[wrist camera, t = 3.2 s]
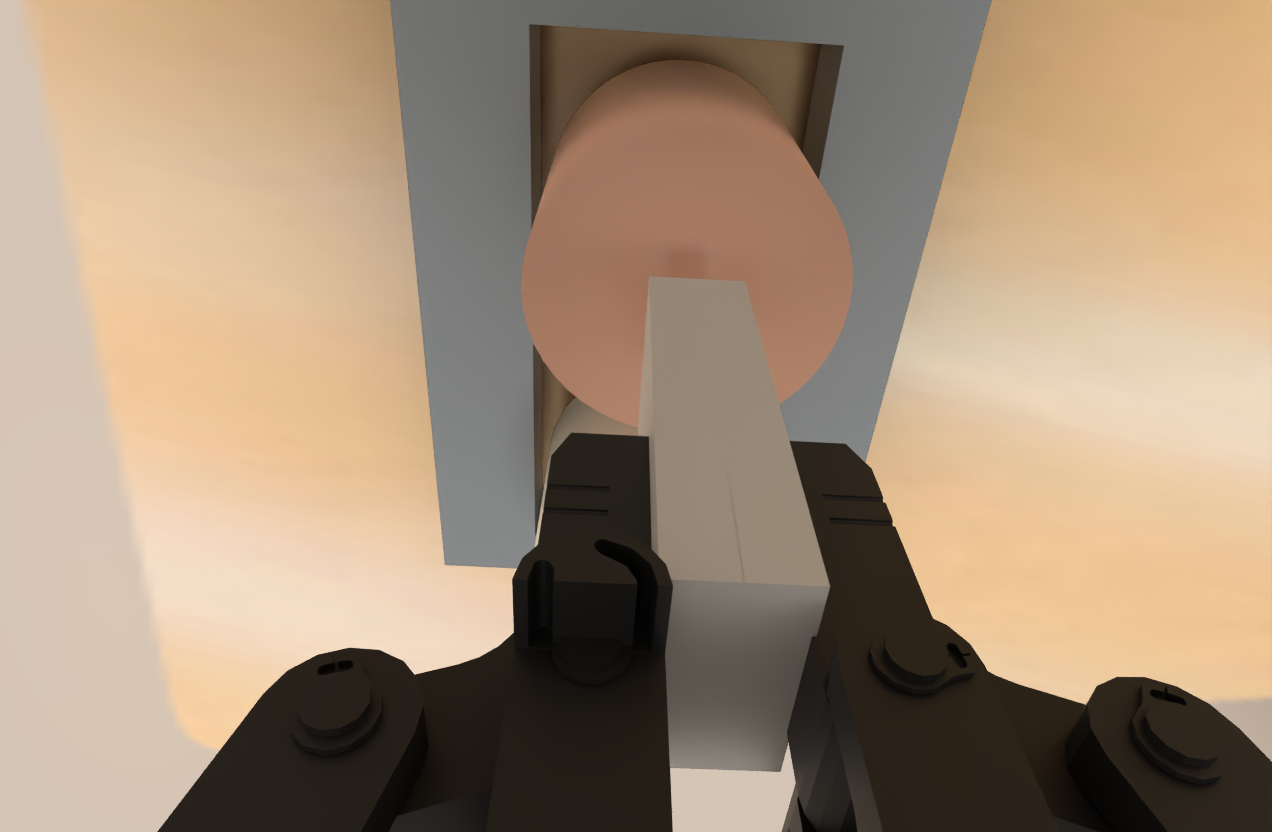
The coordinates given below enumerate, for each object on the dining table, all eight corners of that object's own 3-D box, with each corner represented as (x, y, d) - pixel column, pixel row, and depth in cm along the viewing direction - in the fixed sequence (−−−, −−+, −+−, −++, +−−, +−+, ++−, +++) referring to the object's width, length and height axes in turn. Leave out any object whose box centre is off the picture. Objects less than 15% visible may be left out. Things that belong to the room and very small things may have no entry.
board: (369, -594, 14) (325, -671, 12) (1083, -529, 15) (1153, -594, 13) (458, 517, 29) (444, 564, 27) (818, 534, 29) (832, 582, 27)
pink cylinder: (551, 51, 18) (517, 115, 13) (818, 68, 18) (887, 139, 13) (550, 297, 21) (523, 424, 16) (776, 310, 21) (818, 440, 16)
